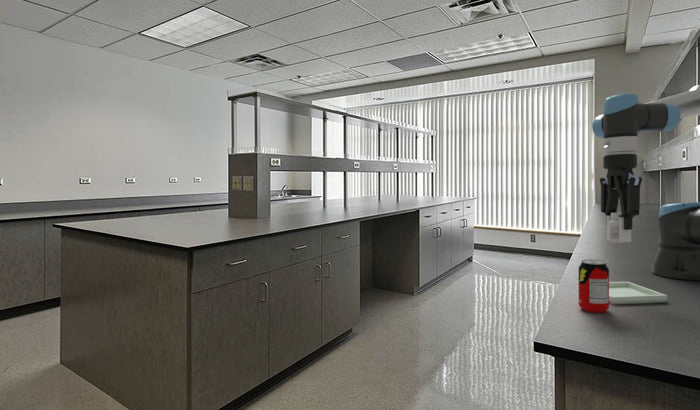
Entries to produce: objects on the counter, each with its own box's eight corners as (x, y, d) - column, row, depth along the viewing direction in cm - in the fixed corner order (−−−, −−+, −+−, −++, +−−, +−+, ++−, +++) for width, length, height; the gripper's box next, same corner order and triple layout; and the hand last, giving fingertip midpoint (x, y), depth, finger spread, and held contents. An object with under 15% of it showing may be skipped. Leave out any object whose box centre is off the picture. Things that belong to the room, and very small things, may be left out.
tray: (627, 287, 115) (627, 281, 115) (666, 302, 101) (667, 295, 101) (579, 289, 115) (579, 283, 115) (612, 304, 101) (612, 297, 101)
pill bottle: (630, 242, 105) (631, 213, 105) (612, 242, 106) (612, 213, 106) (623, 240, 110) (623, 212, 109) (605, 240, 111) (606, 212, 110)
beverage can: (606, 307, 99) (607, 259, 98) (610, 315, 93) (610, 264, 92) (577, 305, 102) (577, 258, 101) (579, 312, 96) (579, 263, 95)
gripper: (586, 156, 115) (585, 236, 117) (628, 151, 98) (627, 245, 99) (612, 155, 115) (611, 235, 117) (659, 150, 98) (657, 245, 99)
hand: (618, 240), depth 108 cm, fingers closed on pill bottle, 4 cm apart
